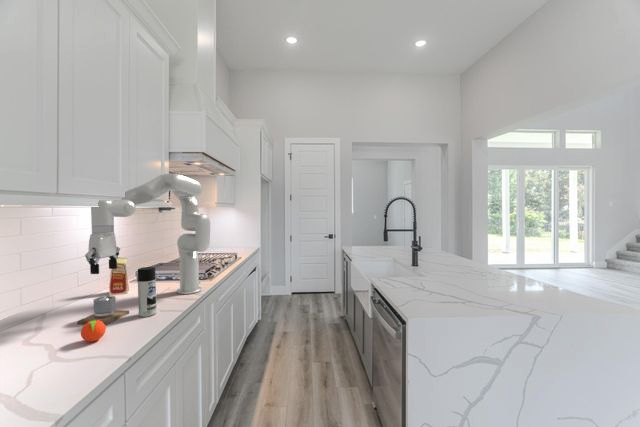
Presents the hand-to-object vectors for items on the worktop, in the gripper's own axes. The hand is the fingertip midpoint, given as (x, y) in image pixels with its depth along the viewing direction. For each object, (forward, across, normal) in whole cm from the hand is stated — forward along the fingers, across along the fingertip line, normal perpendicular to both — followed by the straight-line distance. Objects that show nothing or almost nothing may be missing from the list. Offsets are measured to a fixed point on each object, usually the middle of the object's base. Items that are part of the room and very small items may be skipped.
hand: (104, 271), depth 127 cm
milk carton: (+20, -38, -22) cm, 48 cm away
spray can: (+20, -5, +15) cm, 25 cm away
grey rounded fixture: (+18, 0, 0) cm, 18 cm away
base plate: (+20, 0, 0) cm, 20 cm away
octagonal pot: (+16, 0, 0) cm, 16 cm away
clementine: (+20, +22, +13) cm, 32 cm away
